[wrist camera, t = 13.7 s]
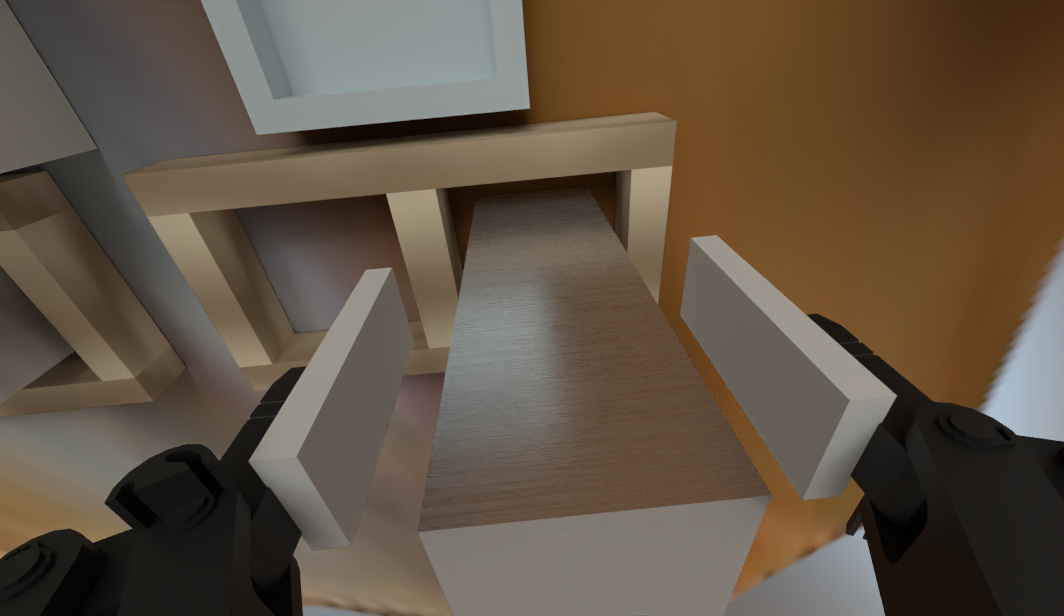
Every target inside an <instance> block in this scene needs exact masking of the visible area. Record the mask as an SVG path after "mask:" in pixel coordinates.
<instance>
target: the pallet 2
mask: <svg viewBox="0 0 1064 616" xmlns="http://www.w3.org/2000/svg"><path fill="white" fill-rule="evenodd" d="M676 127H677V121H675V120H673V119H671V118H668V117H666V116H664V115H662V114H659V113H657V112H648V113H638V114H628V115H617V116H607V117H597V118H587V119H576V120H566V121H556V122H545V123H535V124H525V125H514V126H504V127H494V128H483V129H473V130H463V131H452V132H442V133H432V134H421V135H411V136H401V137H390V138H380V139H370V140H360V141H349V142H339V143H329V144H318V145H308V146H298V147H287V148H277V149H267V150H256V151H246V152H236V153H225V154H215V155H205V156H194V157H184V158H174V159H168V160H165V161H162V162H159V163H156V164H153V165H150V166H147V167H144V168H141V169H138V170H135V171H132V172H129V173H126V174H123V175H121V176H122V178H123V179H124V181H125V182H126V184H127V186H128V187H129V189H130V191H131V192H132V194H133V195H134V197H135V199H136V200H137V202H138V203H139V205H140V207H141V208H142V210H143V212H144V213H145V215H146V216H147V218H148V220H149V221H150V223H151V225H152V226H153V228H154V229H155V231H156V233H157V234H158V236H159V238H160V239H161V241H162V242H163V244H164V246H165V247H166V249H167V250H168V252H169V254H170V255H171V257H172V259H173V260H174V262H175V263H176V265H177V267H178V268H179V270H180V272H181V273H182V275H183V276H184V278H185V280H186V281H187V283H188V284H189V286H190V288H191V289H192V291H193V293H194V294H195V296H196V297H197V299H198V301H199V302H200V304H201V306H202V307H203V309H204V310H205V312H206V314H207V315H208V317H209V319H210V320H211V322H212V323H213V325H214V327H215V328H216V330H217V331H218V333H219V335H220V336H221V338H222V340H223V341H224V343H225V344H226V346H227V348H228V349H229V351H230V353H231V354H232V356H233V357H234V359H235V361H236V362H237V364H238V366H239V367H240V369H241V370H242V372H243V374H244V375H245V377H246V378H247V380H248V382H249V383H250V385H251V387H252V388H253V390H254V391H262V390H269V388H270V387H271V385H272V384H273V383H274V382H275V381H276V380H278V379H279V378H280V377H281V376H282V375H283V374H285V373H286V372H287V371H288V370H289V369H291V368H294V367H304V366H307V365H308V364H309V362H310V360H311V359H312V357H313V355H314V354H315V352H316V351H317V349H318V347H319V346H320V344H321V342H322V341H323V339H324V338H325V336H326V334H327V333H328V331H329V330H323V331H313V332H303V333H294V330H293V328H292V326H291V324H290V322H289V320H288V318H287V316H286V314H285V312H284V310H283V308H282V306H281V304H280V302H279V300H278V298H277V296H276V294H275V292H274V290H273V288H272V286H271V284H270V282H269V280H268V278H267V276H266V273H265V271H264V269H263V267H262V265H261V263H260V261H259V259H258V257H257V255H256V253H255V251H254V249H253V247H252V245H251V243H250V241H249V239H248V237H247V235H246V233H245V231H244V229H243V227H242V225H241V223H240V221H239V219H238V216H237V214H236V212H235V210H234V209H235V208H245V207H255V206H265V205H276V204H286V203H296V202H306V201H316V200H327V199H337V198H347V197H357V196H368V195H378V194H386V195H387V199H388V203H389V206H390V210H391V213H392V217H393V221H394V224H395V228H396V232H397V235H398V239H399V242H400V246H401V250H402V253H403V257H404V260H405V264H406V268H407V271H408V275H409V278H410V282H411V286H412V289H413V293H414V297H415V300H416V304H417V307H418V311H419V315H420V318H421V321H413V322H408V323H409V327H410V330H411V333H412V337H413V340H414V342H413V346H412V349H411V352H410V356H409V359H408V362H407V365H406V369H405V372H404V375H403V376H411V375H421V374H431V373H441V372H446V368H447V362H448V356H449V351H450V345H451V339H452V333H453V328H454V322H455V316H456V311H457V305H458V299H459V293H460V288H461V282H462V276H463V270H462V265H461V260H460V255H459V249H458V244H457V239H456V234H455V229H454V224H453V219H452V213H451V208H450V203H449V198H448V193H447V188H449V187H460V186H470V185H480V184H490V183H501V182H511V181H521V180H531V179H542V178H552V177H562V176H572V175H583V174H593V173H603V172H613V171H616V185H615V218H614V232H615V234H616V235H617V237H618V239H619V240H620V242H621V244H622V245H623V247H624V249H625V250H626V252H627V254H628V256H629V257H630V259H631V261H632V262H633V264H634V266H635V267H636V269H637V271H638V272H639V274H640V276H641V277H642V279H643V281H644V282H645V284H646V286H647V287H648V289H649V291H650V292H651V294H652V296H653V297H654V299H655V301H656V302H657V304H658V301H659V291H660V281H661V272H662V262H663V252H664V243H665V233H666V223H667V214H668V204H669V194H670V185H671V175H672V165H673V156H674V146H675V136H676Z"/></svg>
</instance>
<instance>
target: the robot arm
mask: <svg viewBox="0 0 1064 616" xmlns="http://www.w3.org/2000/svg"><path fill="white" fill-rule="evenodd" d="M680 315H681V317H682V318H683V320H684V321H685V323H686V324H687V326H688V327H689V329H690V330H691V332H692V333H693V335H694V336H695V338H696V339H697V341H698V342H699V344H700V346H701V347H702V349H703V350H704V352H705V353H706V355H707V356H708V358H709V359H710V361H711V362H712V364H713V365H714V367H715V368H716V370H717V371H718V373H719V374H720V376H721V377H722V379H723V380H724V382H725V384H726V385H727V387H728V388H729V390H730V391H731V393H732V394H733V396H734V397H735V399H736V400H737V402H738V403H739V405H740V406H741V408H742V409H743V411H744V412H745V414H746V415H747V417H748V418H749V420H750V422H751V423H752V425H753V426H754V428H755V429H756V431H757V432H758V434H759V435H760V437H761V438H762V440H763V441H764V443H765V444H766V446H767V447H768V449H769V450H770V452H771V453H772V455H773V456H774V458H775V460H776V461H777V463H778V464H779V466H780V467H781V469H782V470H783V472H784V473H785V475H786V476H787V478H788V479H789V481H790V482H791V484H792V485H793V487H794V488H795V490H796V491H797V493H798V494H799V496H800V498H801V499H802V500H809V499H818V498H828V497H838V496H841V495H842V493H843V491H844V489H845V488H846V486H847V484H848V482H849V480H850V479H851V477H852V478H853V479H854V480H855V482H856V483H857V484H858V485H859V487H860V488H861V489H862V490H863V491H864V493H865V495H864V496H863V498H862V499H861V501H860V503H859V504H858V506H857V508H856V509H855V511H854V512H853V514H852V516H851V517H850V519H849V521H848V522H847V527H846V534H848V535H852V536H853V535H854V534H855V532H856V531H857V529H858V527H859V526H860V524H861V523H862V522H863V526H864V530H865V534H864V536H863V539H866V540H867V542H868V547H869V551H870V555H871V559H872V563H873V567H874V571H875V575H876V579H877V583H878V588H879V592H880V596H881V599H882V604H883V607H884V612H885V616H1064V442H1062V441H1055V440H1048V439H1041V438H1033V437H1025V436H1019V435H1016V434H1015V433H1014V432H1013V431H1012V430H1010V429H1009V428H1007V427H1006V426H1004V425H1003V424H1001V423H1000V422H998V421H997V420H995V419H993V418H992V417H990V416H987V415H985V414H983V413H981V412H978V411H976V410H974V409H971V408H967V407H964V406H960V405H956V404H953V403H941V402H933V401H932V400H931V399H929V398H928V397H927V396H926V395H925V394H923V393H922V392H921V391H920V390H919V389H917V388H916V387H915V386H914V385H912V384H911V383H910V382H909V381H908V380H906V379H905V378H904V377H903V376H902V375H900V374H899V373H898V372H897V371H896V370H894V369H893V368H892V367H891V366H890V365H888V364H887V363H886V362H885V361H883V360H882V359H881V358H880V357H879V356H877V355H875V356H874V355H873V351H871V350H870V349H869V348H868V347H867V346H865V345H864V344H863V343H859V341H858V339H857V338H856V337H854V336H853V335H852V334H851V333H850V332H848V331H847V330H846V329H845V328H844V327H842V326H841V325H839V324H837V323H835V322H833V321H831V320H829V319H827V318H825V317H823V316H821V315H819V314H809V315H806V314H804V313H803V312H802V311H801V310H800V309H799V308H798V307H797V306H795V305H794V304H793V303H792V302H791V301H790V300H789V299H788V298H786V297H785V296H784V295H783V294H782V293H781V292H780V291H779V290H777V289H776V288H775V287H774V286H773V285H772V284H771V283H770V282H768V281H767V280H766V279H765V278H764V277H763V276H762V275H761V274H759V273H758V272H757V271H756V270H755V269H754V268H753V267H752V266H750V265H749V264H748V263H747V262H746V261H745V260H744V259H743V258H741V257H740V256H739V255H738V254H737V253H736V252H735V251H734V250H732V249H731V248H730V247H729V246H728V245H727V244H726V243H725V242H723V241H722V240H721V239H720V238H719V237H718V236H717V235H715V236H704V237H694V238H691V241H690V248H689V255H688V262H687V269H686V276H685V283H684V291H683V298H682V305H681V312H680ZM413 342H414V340H413V337H412V333H411V330H410V327H409V323H408V320H407V316H406V313H405V310H404V306H403V303H402V300H401V296H400V293H399V290H398V286H397V283H396V280H395V276H394V273H393V270H392V267H391V268H380V269H370V270H366V271H365V272H364V274H363V276H362V277H361V279H360V281H359V282H358V284H357V285H356V287H355V289H354V290H353V292H352V294H351V295H350V297H349V298H348V300H347V302H346V303H345V305H344V307H343V308H342V310H341V312H340V313H339V315H338V316H337V318H336V320H335V321H334V323H333V325H332V326H331V328H330V329H329V331H328V333H327V334H326V336H325V338H324V339H323V341H322V342H321V344H320V346H319V347H318V349H317V351H316V352H315V354H314V355H313V357H312V359H311V360H310V362H309V364H308V365H307V366H304V367H294V368H291V369H289V370H288V371H287V372H286V373H285V374H283V375H282V376H281V377H280V378H279V379H278V380H276V381H275V382H274V383H273V384H272V385H271V387H270V388H269V390H268V391H267V393H266V394H265V395H264V397H263V398H262V400H261V401H260V402H261V404H260V405H258V406H257V407H256V409H255V410H254V412H253V413H252V414H251V416H250V417H251V419H250V420H247V422H246V423H245V425H244V426H243V428H242V429H241V431H240V432H239V433H238V435H237V436H236V438H235V439H234V441H233V442H232V444H231V445H230V447H229V448H228V450H227V451H226V452H225V454H224V455H223V457H222V458H221V460H220V461H219V460H218V459H217V458H216V456H215V455H214V454H213V453H212V451H211V450H210V449H208V448H206V447H205V446H203V445H201V444H186V445H182V446H179V447H175V448H171V449H168V450H166V451H164V452H162V453H160V454H158V455H155V456H153V457H151V458H149V459H148V460H146V461H145V462H143V463H142V464H140V465H139V466H137V467H136V468H135V469H133V470H132V471H130V472H129V473H128V474H127V475H126V476H125V477H124V478H123V479H122V480H121V481H120V482H119V483H118V484H117V485H116V486H115V487H114V488H113V489H112V491H111V493H110V494H109V496H108V498H107V499H106V501H105V504H106V505H107V506H108V507H109V508H110V509H111V510H113V511H114V512H115V513H116V514H117V515H118V516H119V517H120V518H122V519H123V520H124V521H125V522H126V523H127V524H128V525H129V526H130V527H132V528H133V529H130V530H127V531H125V532H122V533H119V534H116V535H114V536H111V537H108V538H105V539H103V540H100V541H97V542H94V543H92V542H91V541H90V540H88V539H87V538H86V537H85V536H83V535H82V534H81V533H79V532H77V531H74V530H72V529H64V530H56V531H52V532H49V533H46V534H44V535H41V536H39V537H36V538H33V539H31V540H30V541H28V542H26V543H24V544H23V545H21V546H19V547H17V548H15V549H14V550H12V551H10V552H9V553H7V554H6V555H5V556H3V557H2V558H1V559H0V616H303V611H302V596H301V581H300V569H299V566H298V563H297V560H296V559H295V558H294V556H293V553H294V551H295V549H296V546H297V544H298V541H299V539H300V537H301V535H302V537H303V538H304V539H305V541H306V542H307V543H308V545H309V546H310V548H311V549H312V550H322V549H332V548H342V547H351V546H352V543H353V540H354V537H355V533H356V530H357V527H358V523H359V520H360V517H361V514H362V510H363V507H364V504H365V500H366V497H367V494H368V491H369V487H370V484H371V481H372V477H373V474H374V471H375V467H376V464H377V461H378V458H379V454H380V451H381V448H382V444H383V441H384V438H385V435H386V431H387V428H388V425H389V421H390V418H391V415H392V412H393V408H394V405H395V402H396V398H397V395H398V392H399V388H400V385H401V382H402V379H403V375H404V372H405V369H406V365H407V362H408V359H409V356H410V352H411V349H412V346H413Z"/></svg>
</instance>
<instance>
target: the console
mask: <svg viewBox="0 0 1064 616" xmlns="http://www.w3.org/2000/svg"><path fill="white" fill-rule="evenodd" d="M95 149H98V148H97V147H96V145H95V143H94V142H93V140H92V139H91V137H90V135H89V134H88V132H87V131H86V129H85V127H84V126H83V124H82V123H81V121H80V119H79V118H78V116H77V115H76V113H75V111H74V110H73V108H72V107H71V105H70V104H69V102H68V100H67V99H66V97H65V96H64V94H63V92H62V91H61V89H60V88H59V86H58V84H57V83H56V81H55V80H54V78H53V76H52V75H51V73H50V72H49V70H48V68H47V67H46V65H45V64H44V62H43V60H42V59H41V57H40V56H39V54H38V52H37V51H36V49H35V48H34V46H33V44H32V43H31V41H30V40H29V38H28V36H27V35H26V33H25V32H24V30H23V28H22V27H21V25H20V24H19V22H18V20H17V19H16V17H15V16H14V14H13V12H12V11H11V9H10V8H9V6H8V4H7V3H6V1H5V0H0V174H1V173H4V172H8V171H12V170H16V169H20V168H24V167H28V166H32V165H36V164H40V163H44V162H48V161H52V160H56V159H60V158H64V157H68V156H72V155H76V154H79V153H83V152H87V151H91V150H95Z"/></svg>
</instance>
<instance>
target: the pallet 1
mask: <svg viewBox="0 0 1064 616" xmlns="http://www.w3.org/2000/svg"><path fill="white" fill-rule="evenodd" d="M75 351H76V352H77V353H78V354H79V355H72V356H69V355H70V354H72V353H73V352H75ZM185 369H186V366H185V365H184V364H183V362H182V361H181V359H180V358H179V356H178V355H177V354H176V352H175V351H174V349H173V348H172V347H171V345H170V344H169V342H168V341H167V340H166V338H165V337H164V335H163V334H162V333H161V331H160V330H159V328H158V327H157V326H156V324H155V323H154V321H153V320H152V319H151V317H150V316H149V314H148V313H147V311H146V310H145V309H144V307H143V306H142V304H141V303H140V302H139V300H138V299H137V297H136V296H135V295H134V293H133V292H132V290H131V289H130V288H129V286H128V285H127V283H126V282H125V281H124V279H123V278H122V276H121V275H120V273H119V272H118V271H117V269H116V268H115V266H114V265H113V264H112V262H111V261H110V259H109V258H108V257H107V255H106V254H105V252H104V251H103V250H102V248H101V247H100V245H99V244H98V243H97V241H96V240H95V238H94V237H93V235H92V234H91V233H90V231H89V230H88V228H87V227H86V226H85V224H84V223H83V221H82V220H81V219H80V217H79V216H78V214H77V213H76V212H75V210H74V209H73V207H72V206H71V205H70V203H69V202H68V200H67V199H66V197H65V196H64V195H63V193H62V192H61V190H60V189H59V188H58V186H57V185H56V183H55V182H54V181H53V179H52V178H51V176H50V175H49V174H48V172H47V171H40V172H29V173H19V174H9V175H0V417H3V416H13V415H23V414H33V413H43V412H53V411H63V410H73V409H82V408H92V407H102V406H112V405H122V404H132V403H142V402H152V401H155V400H156V399H157V398H158V397H159V396H160V395H161V394H162V393H163V392H164V391H165V390H166V389H167V388H168V387H169V386H170V385H171V383H172V382H173V381H174V380H175V379H176V378H177V377H178V376H179V375H180V374H181V373H182V372H183V371H184V370H185Z"/></svg>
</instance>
